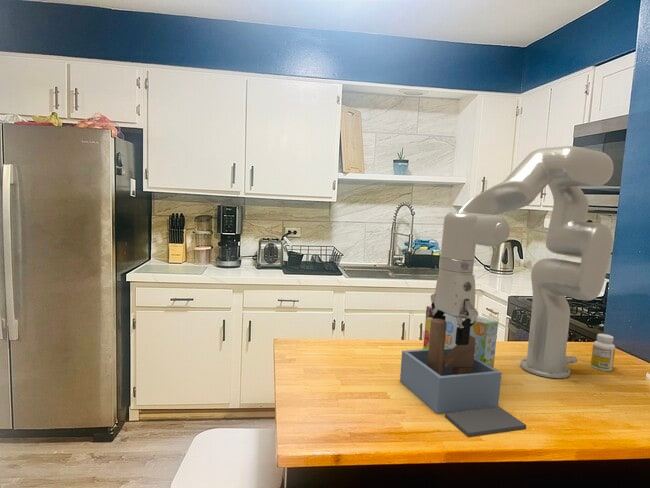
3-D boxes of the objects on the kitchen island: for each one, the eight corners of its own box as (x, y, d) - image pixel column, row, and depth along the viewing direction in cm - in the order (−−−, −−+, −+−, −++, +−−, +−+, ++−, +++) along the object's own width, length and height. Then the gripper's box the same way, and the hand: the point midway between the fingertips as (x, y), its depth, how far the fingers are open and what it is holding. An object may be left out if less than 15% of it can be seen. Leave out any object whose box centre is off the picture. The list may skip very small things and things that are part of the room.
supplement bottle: (599, 363, 129) (603, 332, 128) (617, 370, 124) (621, 338, 123) (586, 365, 128) (590, 333, 127) (603, 372, 122) (607, 339, 121)
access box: (454, 376, 114) (456, 347, 113) (498, 406, 98) (501, 372, 97) (399, 381, 109) (402, 350, 108) (436, 413, 93) (439, 378, 92)
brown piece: (471, 396, 102) (477, 322, 101) (428, 397, 101) (434, 322, 99) (463, 389, 106) (469, 318, 104) (422, 390, 104) (427, 318, 102)
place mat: (499, 410, 96) (499, 406, 96) (525, 428, 89) (526, 424, 88) (444, 416, 92) (445, 413, 92) (468, 436, 84) (468, 433, 84)
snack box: (494, 375, 116) (499, 320, 115) (481, 379, 113) (486, 323, 112) (434, 350, 134) (437, 303, 132) (421, 353, 130) (425, 304, 129)
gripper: (494, 272, 93) (486, 349, 95) (448, 261, 110) (442, 327, 111) (465, 272, 91) (457, 351, 92) (422, 260, 107) (416, 327, 109)
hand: (449, 337), depth 102 cm, fingers open, 9 cm apart
